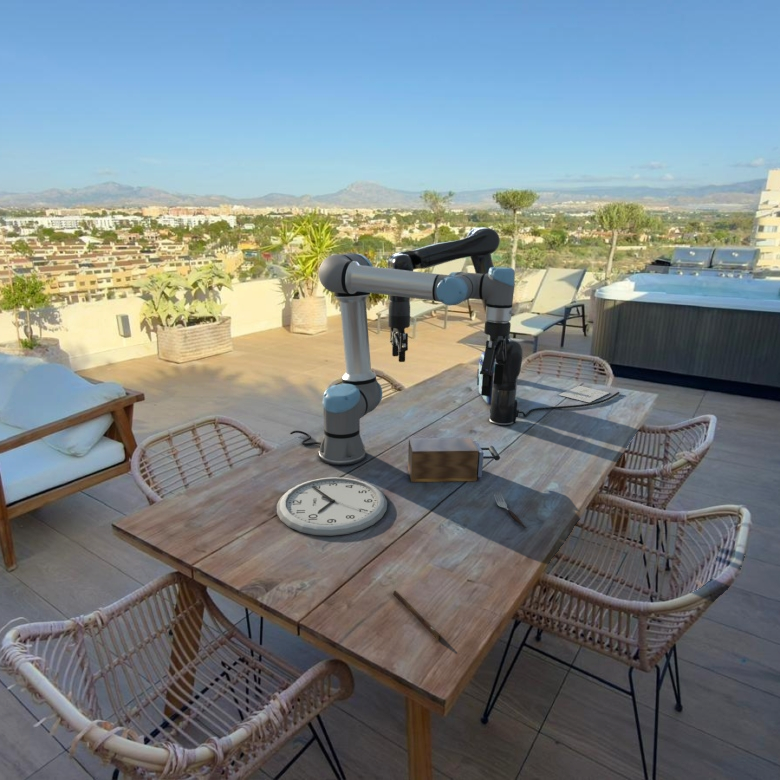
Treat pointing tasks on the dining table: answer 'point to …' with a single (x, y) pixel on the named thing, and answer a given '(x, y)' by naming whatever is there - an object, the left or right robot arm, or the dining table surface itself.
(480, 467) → the drawer
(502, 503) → the fork
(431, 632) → the dark brown thin rod
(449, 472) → the cabinet
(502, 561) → the dining table surface
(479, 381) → the lunch box
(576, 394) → the invitation card
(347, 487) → the wall clock
